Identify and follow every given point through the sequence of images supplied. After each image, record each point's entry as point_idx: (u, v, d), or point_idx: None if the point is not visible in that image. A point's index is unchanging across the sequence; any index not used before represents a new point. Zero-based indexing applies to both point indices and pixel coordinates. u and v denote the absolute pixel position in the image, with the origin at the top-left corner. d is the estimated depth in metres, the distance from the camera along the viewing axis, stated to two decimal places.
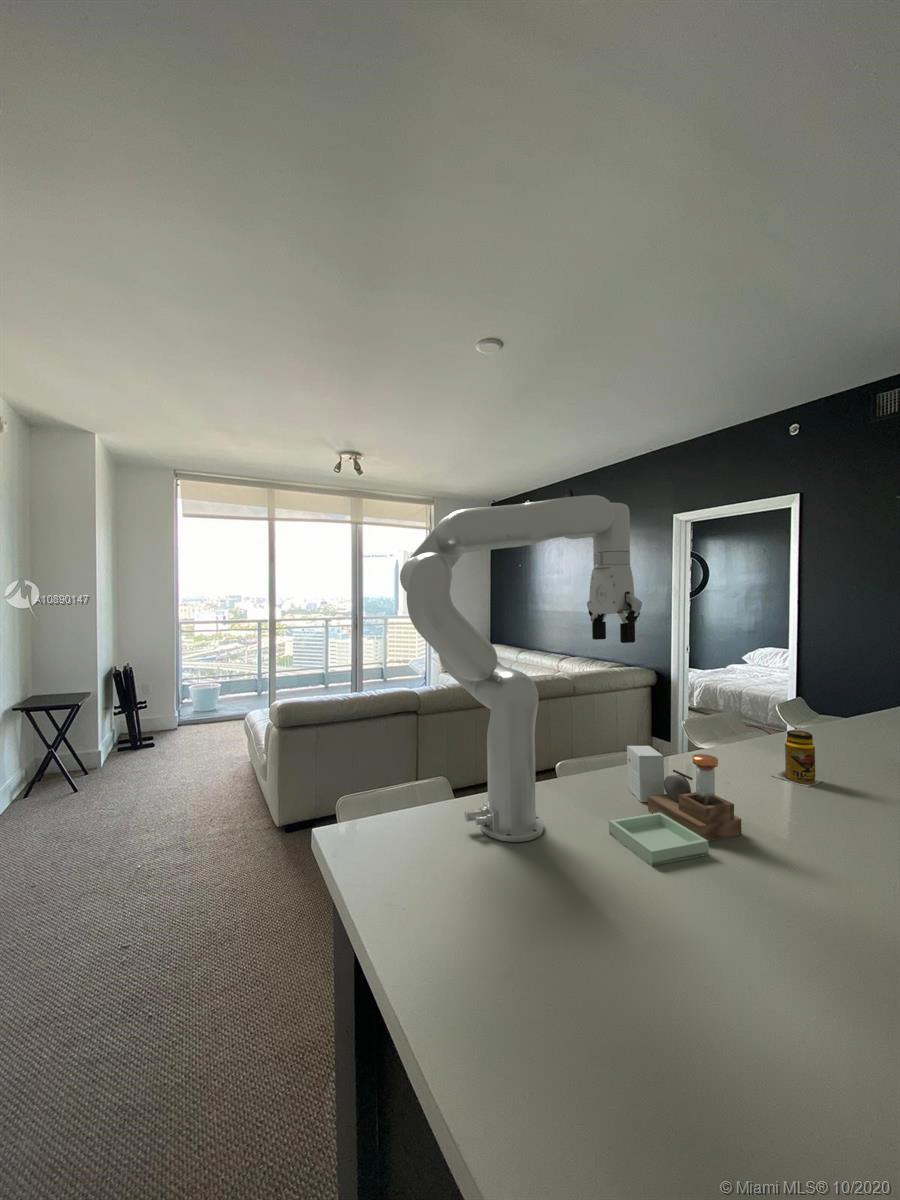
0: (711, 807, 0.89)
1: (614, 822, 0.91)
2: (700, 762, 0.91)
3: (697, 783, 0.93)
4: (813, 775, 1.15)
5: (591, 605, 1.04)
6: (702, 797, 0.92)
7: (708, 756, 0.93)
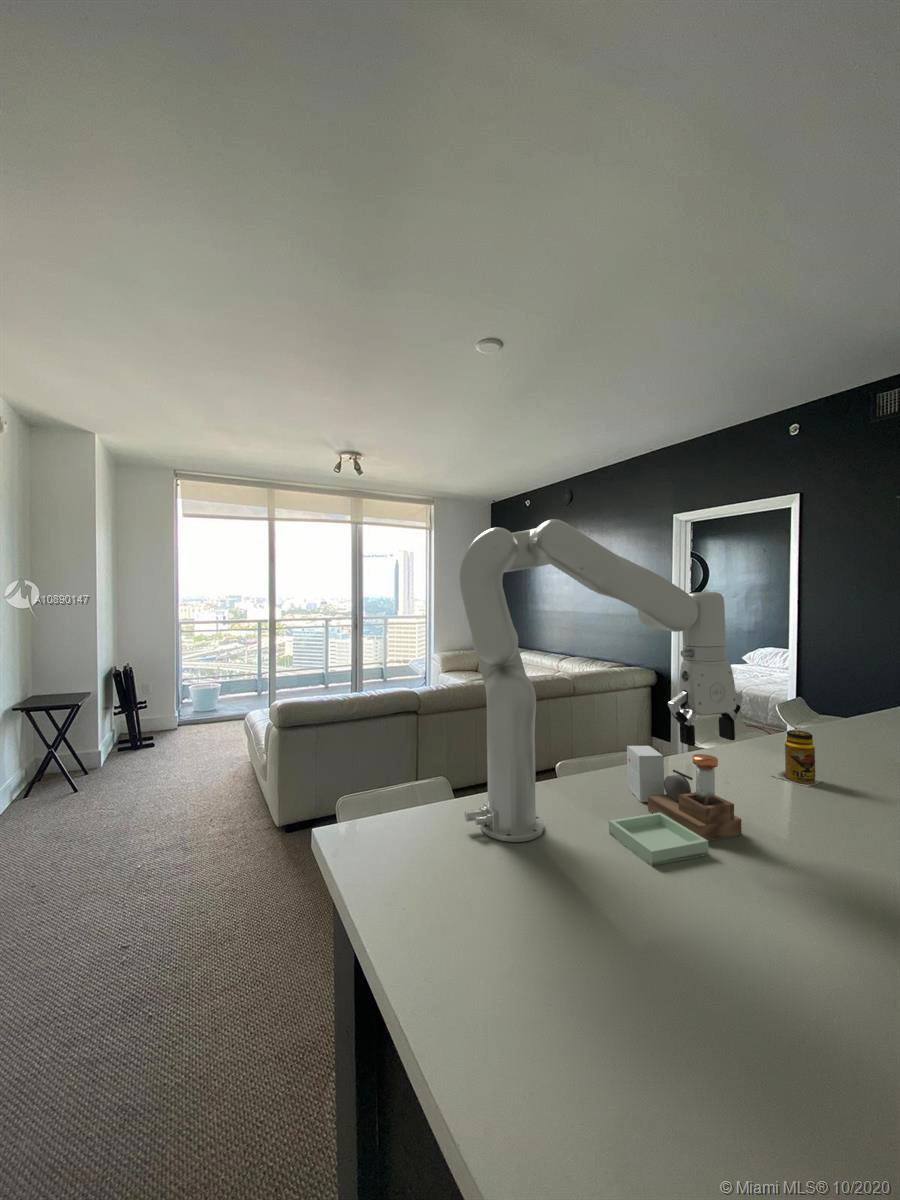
0: (711, 807, 0.89)
1: (614, 822, 0.91)
2: (700, 762, 0.91)
3: (697, 783, 0.93)
4: (813, 775, 1.15)
5: (702, 706, 0.89)
6: (702, 797, 0.92)
7: (708, 756, 0.93)
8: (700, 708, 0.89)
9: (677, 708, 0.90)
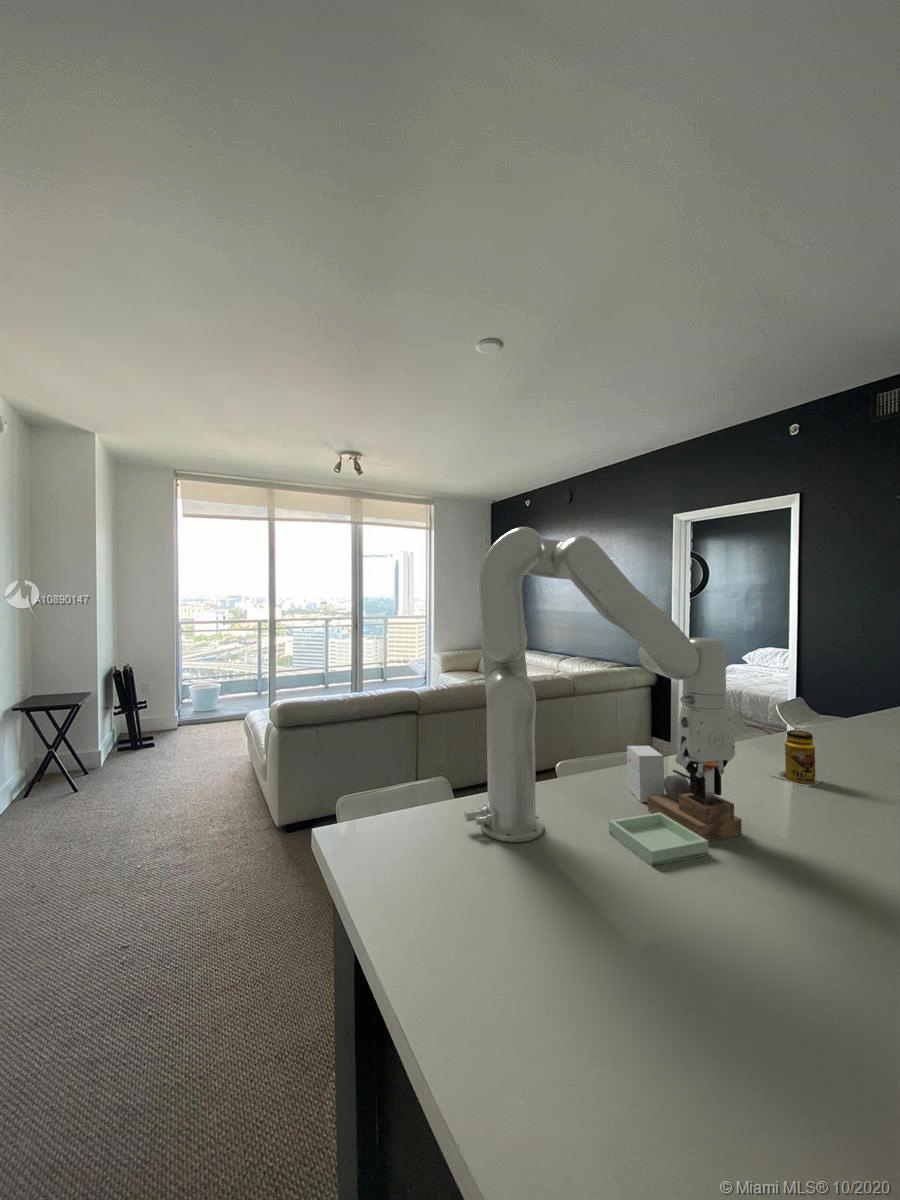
0: (711, 807, 0.89)
1: (614, 822, 0.91)
2: None
3: None
4: (813, 775, 1.15)
5: (700, 754, 0.89)
6: None
7: None
8: (699, 756, 0.89)
9: (686, 762, 0.91)
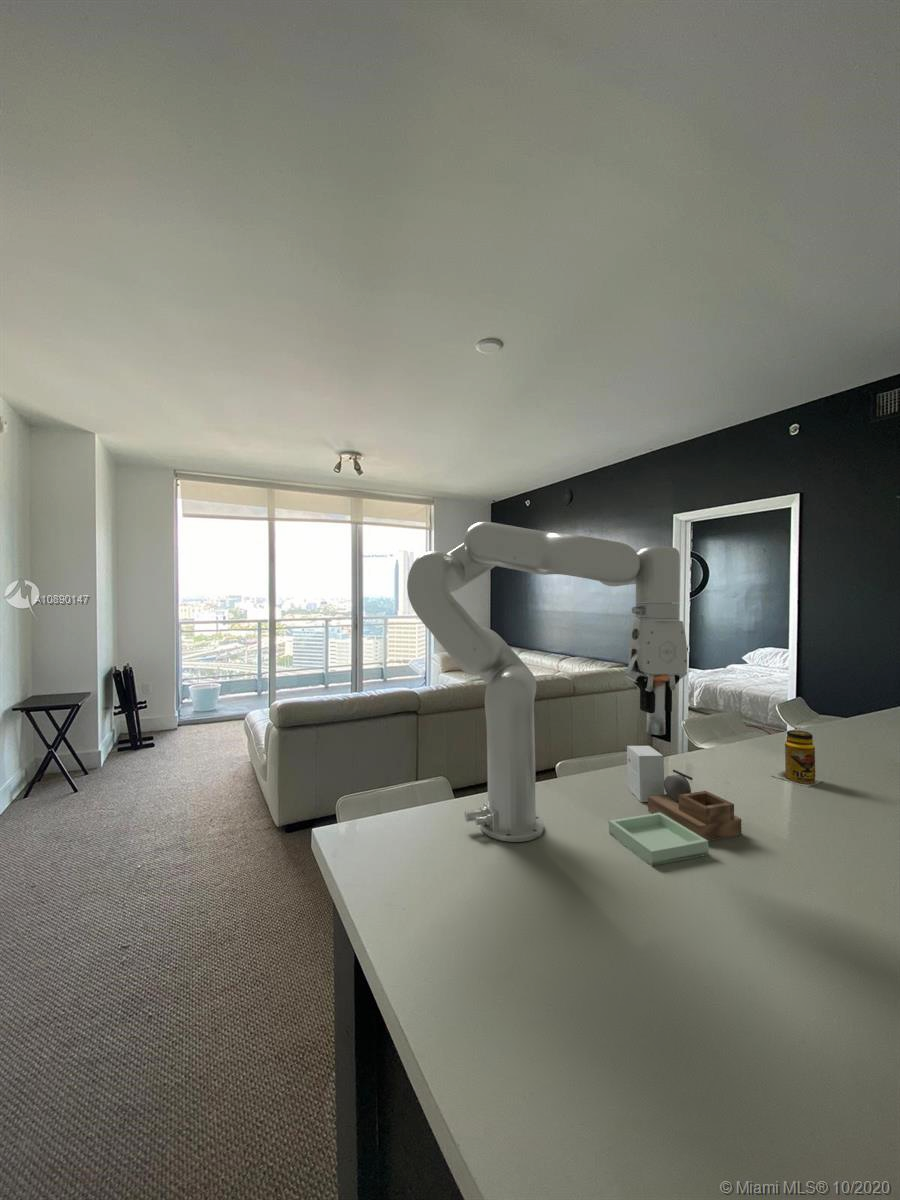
0: (711, 807, 0.89)
1: (614, 822, 0.91)
2: None
3: None
4: (813, 775, 1.15)
5: (650, 665, 0.84)
6: (652, 713, 0.87)
7: None
8: (648, 667, 0.84)
9: (635, 675, 0.86)
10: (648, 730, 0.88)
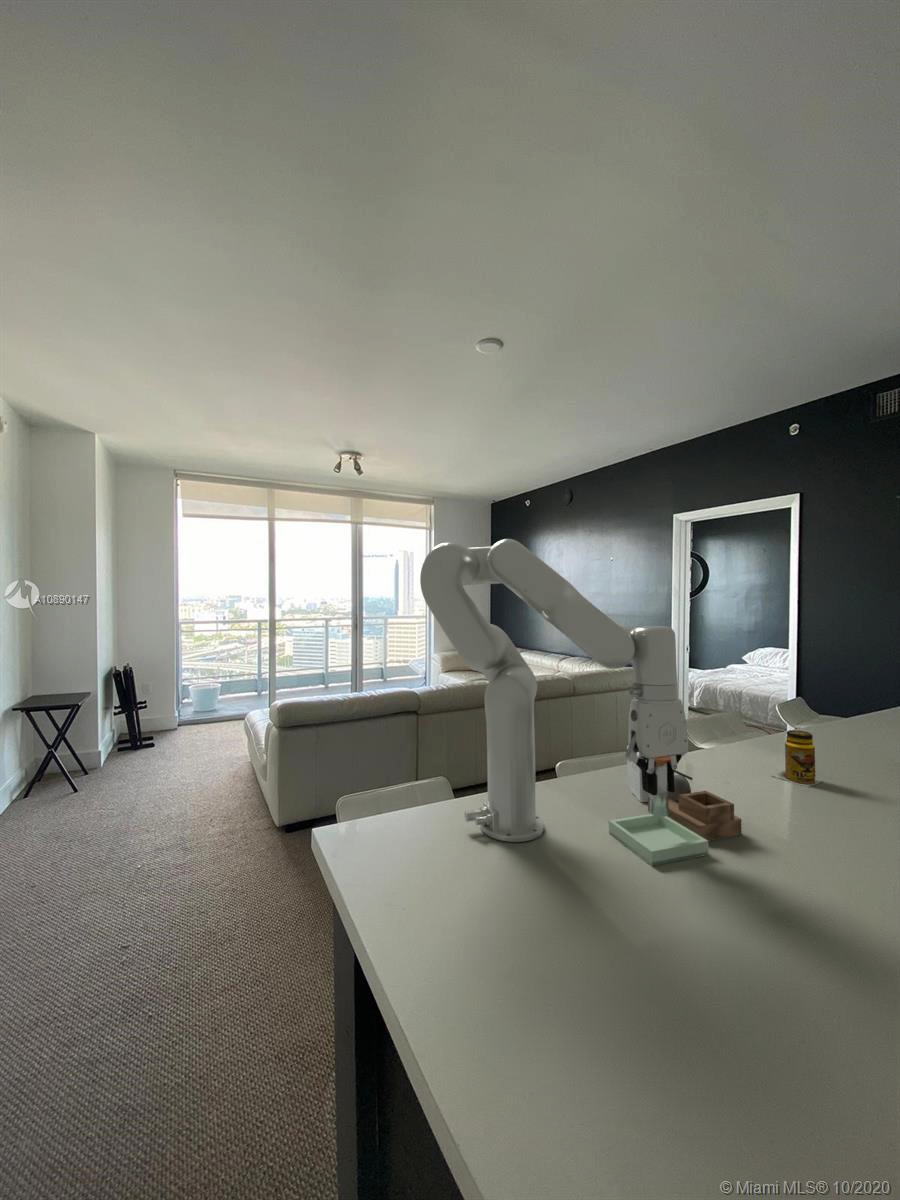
0: (711, 807, 0.89)
1: (614, 822, 0.91)
2: None
3: None
4: (813, 775, 1.15)
5: (650, 749, 0.84)
6: None
7: None
8: (648, 751, 0.84)
9: (636, 758, 0.85)
10: (651, 811, 0.87)
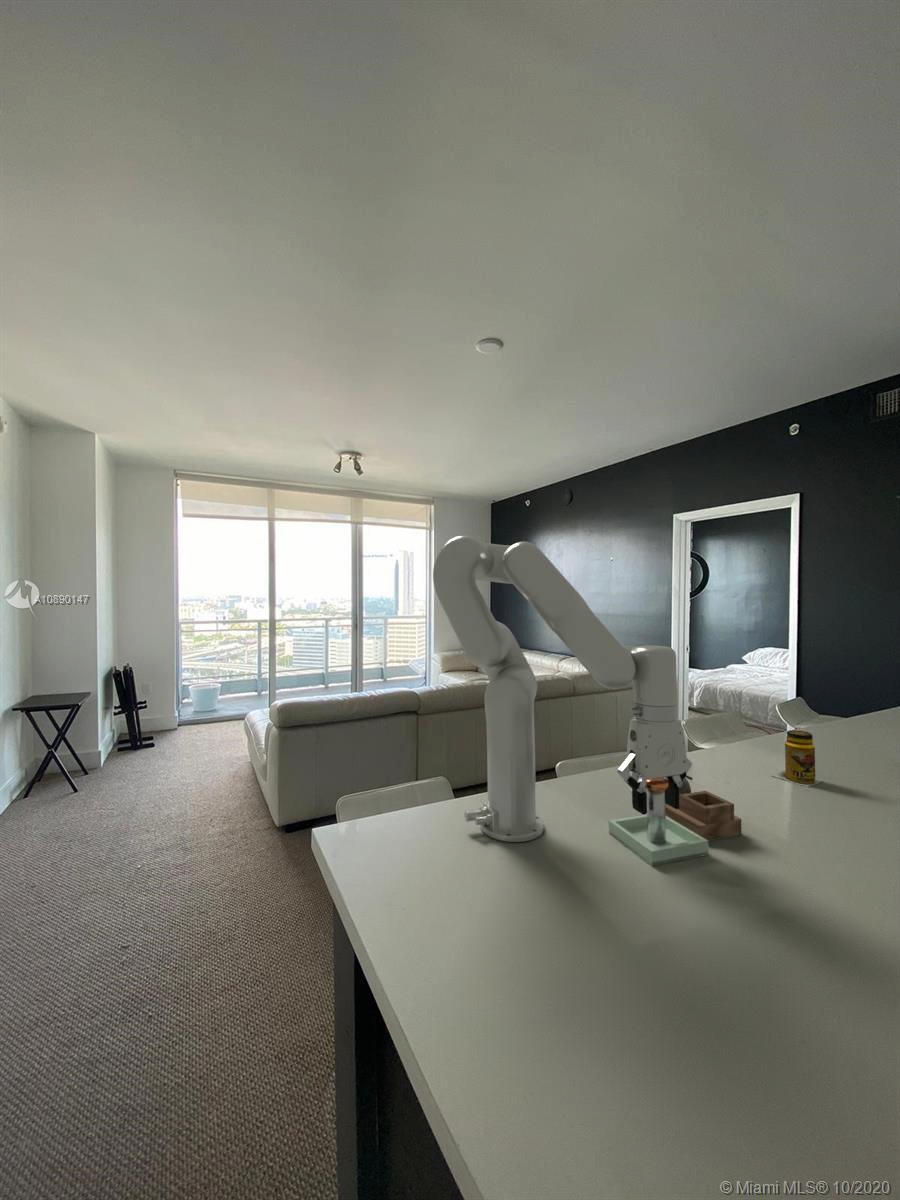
0: (711, 807, 0.89)
1: (614, 822, 0.91)
2: (649, 785, 0.86)
3: (647, 807, 0.88)
4: (813, 775, 1.15)
5: (648, 770, 0.84)
6: (652, 822, 0.86)
7: (659, 778, 0.88)
8: (646, 771, 0.84)
9: (627, 775, 0.85)
10: (649, 838, 0.87)
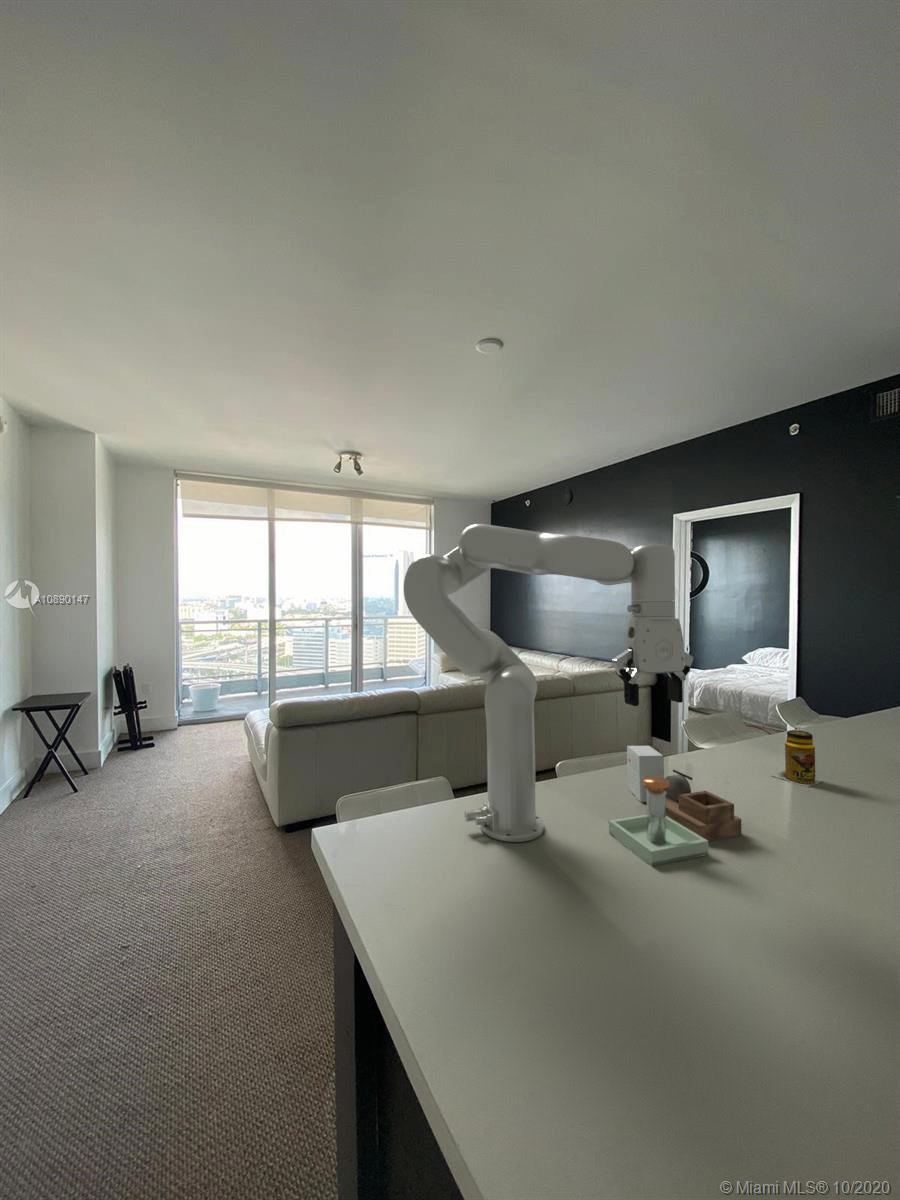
0: (711, 807, 0.89)
1: (614, 822, 0.91)
2: (649, 785, 0.86)
3: (647, 807, 0.88)
4: (813, 775, 1.15)
5: (646, 664, 0.84)
6: (652, 822, 0.86)
7: (659, 778, 0.88)
8: (644, 665, 0.84)
9: (621, 665, 0.85)
10: (649, 838, 0.87)
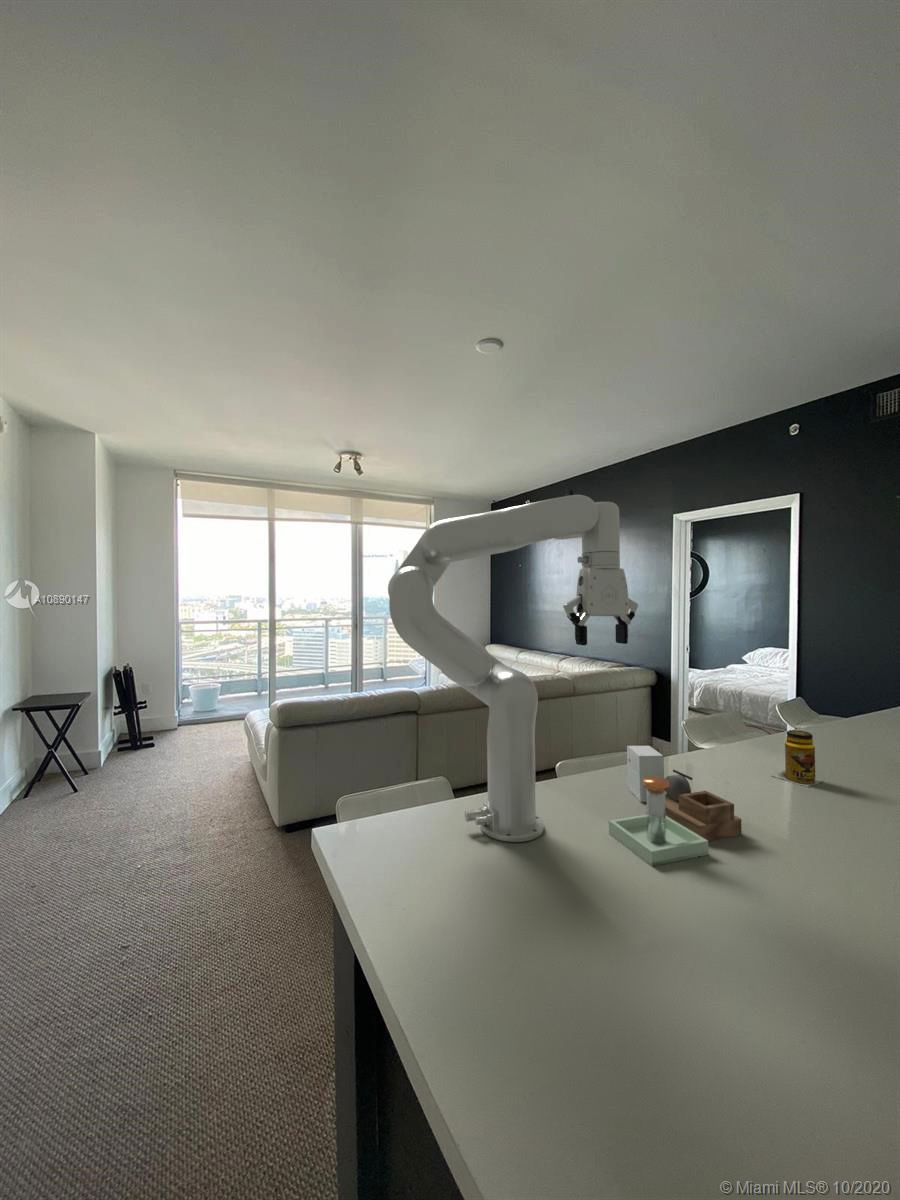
0: (711, 807, 0.89)
1: (614, 822, 0.91)
2: (649, 785, 0.86)
3: (647, 807, 0.88)
4: (813, 775, 1.15)
5: (593, 607, 0.95)
6: (652, 822, 0.86)
7: (659, 778, 0.88)
8: (591, 609, 0.95)
9: (571, 609, 0.96)
10: (649, 838, 0.87)
